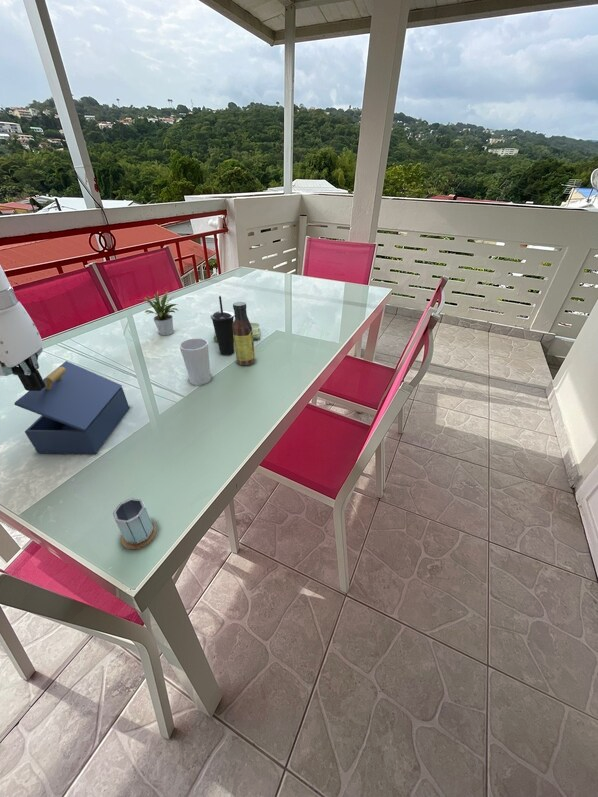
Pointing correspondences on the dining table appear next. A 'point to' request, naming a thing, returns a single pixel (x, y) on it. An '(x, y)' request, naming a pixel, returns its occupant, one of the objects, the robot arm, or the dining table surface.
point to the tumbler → (133, 521)
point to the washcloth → (254, 329)
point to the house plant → (162, 314)
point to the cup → (196, 360)
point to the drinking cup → (224, 330)
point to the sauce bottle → (243, 335)
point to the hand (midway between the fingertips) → (36, 388)
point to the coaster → (134, 547)
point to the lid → (71, 396)
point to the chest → (77, 431)
